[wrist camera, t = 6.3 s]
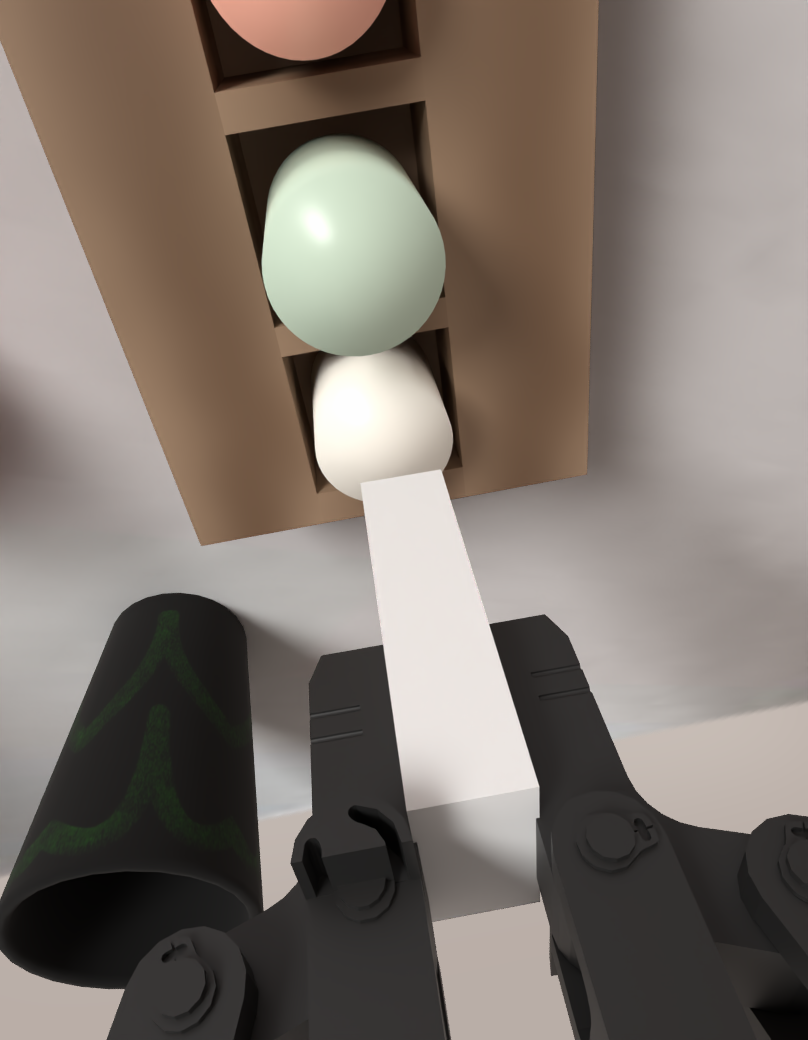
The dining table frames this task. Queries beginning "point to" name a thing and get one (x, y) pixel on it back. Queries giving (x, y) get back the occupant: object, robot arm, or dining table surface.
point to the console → (242, 214)
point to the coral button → (300, 24)
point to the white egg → (377, 417)
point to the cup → (143, 803)
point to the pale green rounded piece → (350, 247)
